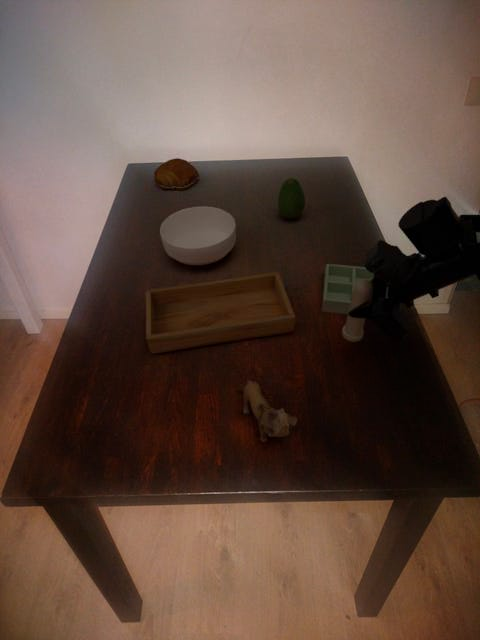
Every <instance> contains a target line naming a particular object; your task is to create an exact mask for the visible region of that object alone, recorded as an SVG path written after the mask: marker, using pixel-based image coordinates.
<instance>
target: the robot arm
mask: <svg viewBox="0 0 480 640" xmlns="http://www.w3.org/2000/svg"><path fill="white" fill-rule="evenodd" d="M398 228H399V229H400V230H401V232H402V233H403V234H404V235H405V237H406V238H407V239H408V241H409V242H410V243H411V244H412V245H413V247H414V248H415V249H416V251H417V252H414V253H412V254H409V255H407V254H406V253H403V251H402V250H401V249H400V247H399V246H398V245H393V244H390V243H388V242H387V241H385V240H383V239H379V240H378V241H377V242H376V243H375V244H374V245H373V246H372V248H371V249H370V250H369V251H368V252H366V260H365V263H364V267H365V268H366V269H367V270H368V271H369V272H371V273H374V277H373V279H372V280H371V282H372V284H373V286H374V290H373V292H372V295H371V298H370V300H369V301H367V302H365V303H363V304H361V305H359V306H358V307H356V308H354V309H352V310H351V311H349V312H348V314H347V316H348V315H349V316H350V317H353V318H365V320H372V322H373V323H374V324H375V325H376V326H377V327H378V328H379V329H380V331H381V332H382V333H383V334H384V335H385V336H386V337H388V339H389V340H390V341H391V342H392V343H393V342H397V341H399V340H403V339H406V337H407V335H408V333H409V316H408V315H407V314H406V313H405V311H404V310H403V309H402V306H401V304H404V305H405V306H406V308H408V309H409V308H412V307H414V306H415V300H417V299H419V298H422V297H424V296H427V295H429V296H430V297H431V298H432V299H435V298H438V297H439V296H440V290H442V289H445V288H447V287H448V286H452V285H454V284H457V283H459V282H461V281H464V280H466V279H468V278H471V277H473V276H475V277H476V278H477V279H478V281H479V282H480V241H478V238H479V239H480V214H460V215H459V216H458V214H457V213H456V212H455V209H454V208H453V206H452V203H451V201H450V200H449V199H448V197H447V196H442V197H440V198H439V199H437V200H436V199H428V200H425V201H420V202H418V203H416V204H414V205H413V206H412V207H410V208H409V209H408V210H407V211H405V213H404V214H403V215H402V216H401V217H400V218H399V221H398ZM477 234H478V237H477Z"/></svg>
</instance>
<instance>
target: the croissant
mask: <svg viewBox="0 0 480 640" xmlns="http://www.w3.org/2000/svg"><path fill="white" fill-rule="evenodd" d="M153 175H154V177H153V178H154V182H155V184H156V183H157V184H158V185H162V186H164V187H173V186H176V187H184V186H187V185H189V184H191V183H193V182H194V181H195V180H196V179H197V177H198V178H199V177H200V173H199V172H198V170H197V169H196V167H195V166H194V165H192V164H191V163H190V162H188V160H186V159H183V158H180V157H175V158H171V159H168V160H167V161H164V163H162V164H160V165H159V166H158V167H157V168H155V170H154V172H153ZM157 184H156V185H157ZM158 185H157V186H158ZM193 185H195V183H193V184H191V185H190V186H188V187H185V188H176V187H175V188H162V187H161V186H158V188H159V189H161V190H171V191H172V190H174V191H178V192H179V191H183V190H185V189H188V188H189V187H192V186H193Z"/></svg>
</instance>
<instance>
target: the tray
mask: <svg viewBox="0 0 480 640" xmlns="http://www.w3.org/2000/svg"><path fill="white" fill-rule="evenodd" d="M145 314H146V315H145V322H146V323H145V335H146V336H145V339H146V342H147V346H148V348H149V352H150V353H151V355H154V354H161V353H167V352H172V351H180V350H185V349H191V348H197V347H205V346H212V345H218V344H223V343H231V342H238V341H244V340H251V339H258V338H264V337H270V336H271V337H272V336H277V335H284V334H290V333H294V332H295V327H296V326H295V324H296V314H295V312H294V309H293V307H292V304H291V301H290V299H289V297H288V294H287V291H286V289H285V286H284V283H283V281H282V278H281V276H280V274H279V272H278V271H277V272H276V271H275V272H267V273H260V274H253V275H246V276H238V277H231V278H224V279H217V280H209V281H203V282H195V283H188V284H187V283H186V284H179V285H173V286H166V287H159V288H151V289H145Z"/></svg>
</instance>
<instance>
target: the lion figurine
mask: <svg viewBox="0 0 480 640" xmlns="http://www.w3.org/2000/svg"><path fill="white" fill-rule="evenodd" d="M237 391H238V392H239V393H243V400H244V401H243V409H242V410H243V411H242V412H243V415H246V416H247V415H249V414H250V408H251V411H252V413H253V415H254V417H255V418H256V420H257V425H258V430H259V434H260V436H259V439H260V441H261V442H263V443H265V442H267V441H268V437H269V438H275V437H277V438H284V437H287V436H288V435H290V428H293V426H296V425H297V422H298V417H296V416H291V415H290V414H289V413H286V412H285V409H284V408H283V407H281V408H280V409H275V408H274V407H271V406H270V404H269V403H268V401H267V400H266V399H265V397H264V396H263V394H262V388H261V385H260V384H259V382H257V381H252V380H248V381H247V382H246V384H245V386H244V388H237ZM249 403H250V407H249Z"/></svg>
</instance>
